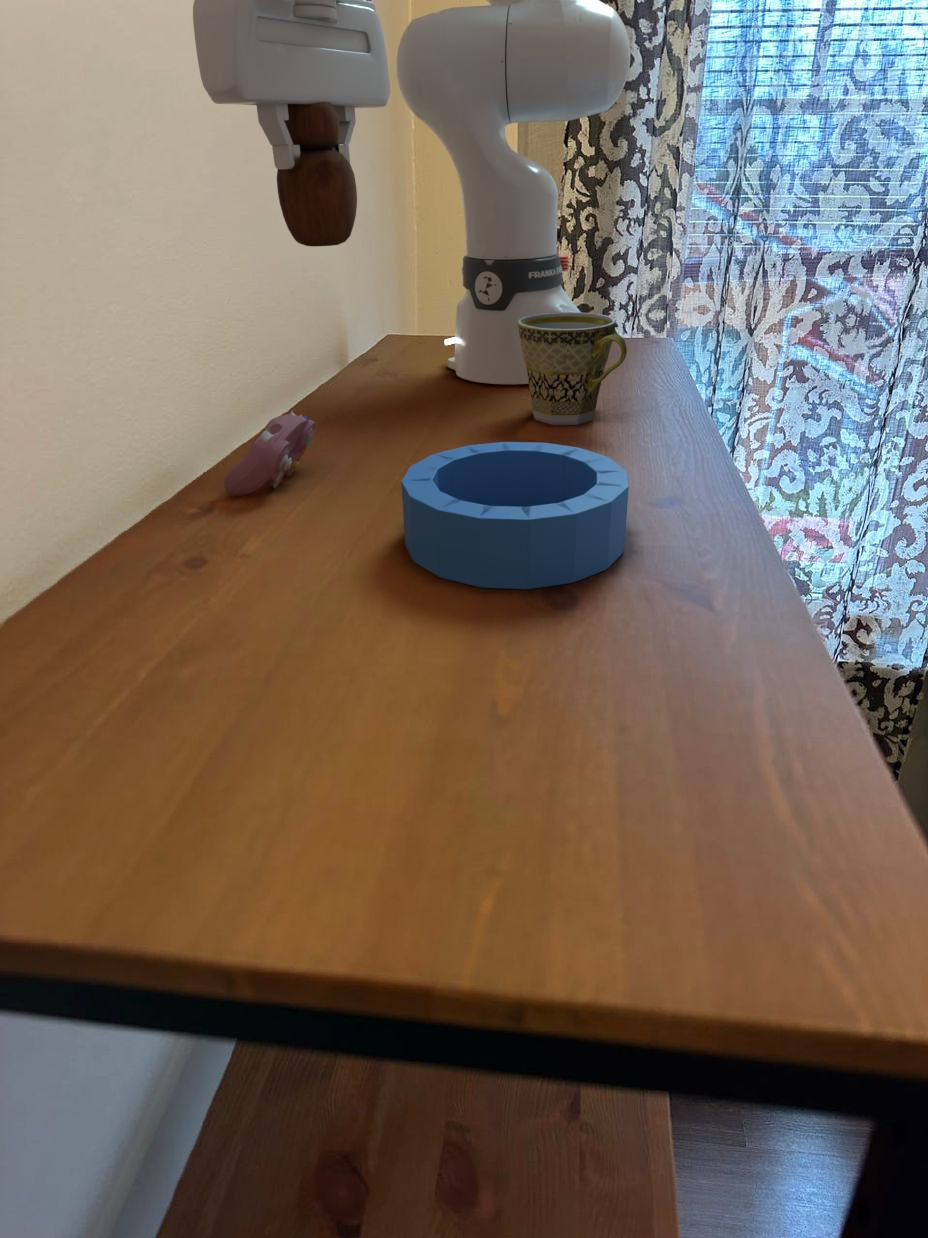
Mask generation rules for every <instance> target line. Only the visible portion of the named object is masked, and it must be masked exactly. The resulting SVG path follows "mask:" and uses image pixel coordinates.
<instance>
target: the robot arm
mask: <svg viewBox="0 0 928 1238" xmlns="http://www.w3.org/2000/svg"><path fill="white" fill-rule="evenodd" d="M486 1H487V2H488V3H489V5H472V6H457V7H456V6H455V7H449V8H445V9H442V10H439V11H435V12H431V13H428V14H425V15H422V16H420V17H417V18H413V19H412V20H411V21H410V22H409V23H408V25H407V26H406V28H405V29H404V32H403V34H402V35H401V38H400V41H399V43H398V47H397V52H396V58H395V68H396V69H395V71H396V72H395V73H396V80H397V84H398V88H399V91H400V94H401V97H402V98H403V100H404V102H405V104H406V105H407V107H408V108H409V110H410V111H411V112H412V114H413V115H414V116H415V117H416V118H418V120H420V121H421V122H422V123H424V124H425V125H426V126H427V127H428V128H429V129H430V130H431V131H432V132H433V133H434V134H435V135H436V137H437V138H438V140H440V142H441V143H442V145H443V147H444V148H445V150H446V151H447V153H448V155H449V157H450V159H451V161H452V163H453V165H454V168H455V171H456V173H457V178H458V181H459V184H460V185H459V186H460V189H461V196H462V206H463V217H464V219H463V220H464V233H465V255H464V256H463V257H462V267H461V275H462V286H463V287H464V289H465V292H464V295H463V297H462V298H461V299H460V300H459V301H458V302H457V305H456V314H455V316H456V317H455V318H456V319H455V333H454V334H455V335H454V337H450V338H446V339H444V346H448V345H452V344H454V354H453V355H454V356H453V357H449V358H447V367H448V369H451V370H453V371H454V372H455V375H456V376H457V377H459V378H461V379H462V380H467V381H470V382H475V383H482V384H492V385H529V381H528V375H527V369H526V365H525V361H524V357H523V353H522V347H521V341H520V335H519V327H518V321H519V320H520V319H521V318H524V317H527V316H531V315H536V314H543V313H557V312H581V311H580V309H579V308H578V307H577V306H576V304H575V303H574V302H573V301H572V299H571V298H570V297H569V295H568V294H567V293H566V291H565V289H563V286H562V284H563V283H564V278H563V272H568V271H569V270H570V268H569V267H570V266H571V265H570V264H571V258H570V255H569V254H568V253H567V254H566V253H565V254H564V253H563V254H558V253H557V246H558V245H557V244H558V243H557V241H558V207H559V191H558V187H557V184H556V181H555V179H554V177H553V176H552V175H551V174H550V172H549V171H548V170H547V169H546V168H544V167H543V166H541V165H540V164H538V163H537V162H535V161H533V160H532V159H530V158H528V157H526V156H525V155H523V154H521V153H518V152H517V151H515V150H514V149H513V148H512V147H511V145H509V143H508V140H507V136H506V127H507V126H508V125H512V124H519V123H522V124H523V123H550V122H551V123H552V122H553V123H554V122H569V121H573V120H578V119H582V118H586V117H590V116H595V115H597V114H600V113H604V112H607V111H609V110H610V108H612V106H613V105H614V104H615V102H616V101H617V100H618V99H619V97H620V95H621V94H622V91H623V90H624V87H625V85H626V83H627V79H628V76H629V72H630V66H631V44H630V39H629V35H628V30H627V28H626V25H625V24H624V22H623V20H622V18H621V16H620V15H619V14H618V12H617V11H616V10H615V9H614V7H612V6H610V5H608V4H606V3H605V2H602V1H601V0H486ZM192 22H193V23H192V24H193V34H194V41H195V50H196V51H195V52H196V56H197V63H198V69H199V74H200V79H201V83H202V86H203V88H204V90H205V91H206V94H208V96H209V98H210V100H211V101H212V102H213V103H214V104H217V105H238V106H239V105H241V106H242V105H245V106H256V111H257V119H258V120H257V121H258V124H259V125H260V128H261V129H262V131H263V133H264V134H265V137H266V138H267V141H268V142H269V144H270V146H271V147H272V155H273V164H274V166H275V168H276V169H277V170H278V169H299V168H300V167H301V164H302V162H301V158H300V154H301V153H300V145H293V142H292V139H291V137H290V134H289V132H288V129H287V127H286V124H285V122H284V121H285V120H289V115H288V105H287V104H315V103H320V102H325V103H329V102H330V104H331V106H332V107H333V108H334V109H335V112H336V114H337V117H338V122H339V140H338V142H337V144H336V146H334V147H332V148H330V149H329V150H335V151H337V152H339V153H341V154H343V155H344V157H345V158H346V159H347V160H348V161H349V162H350V163H351V158H350V157H351V155H350V143H351V140H352V136H353V134H354V129H355V125H356V121H357V119H356V110H355V109H378V108H384V107H386V106H387V104H388V100H389V98H390V93H391V85H390V73H389V66H388V65H389V64H388V58H387V51H386V50H387V49H386V43H385V36H384V30H383V27H382V23H381V21H380V17H379V15H378V14H377V10H376V5H375V3H374V1H372V0H194V1H193V5H192ZM615 328H619V325H618V323H617V322H616V325H615Z"/></svg>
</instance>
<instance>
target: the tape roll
mask: <svg viewBox="0 0 928 1238" xmlns="http://www.w3.org/2000/svg"><path fill="white" fill-rule="evenodd" d="M400 483H401V484H400V485H401V499H402V513H403V514H402V515H403V528H404V543H405V546H406V548H407V551H408V554H409V555H410V557H411V560H412V561H413V563H415V564H416V565H418V566H420V567H421V568H423V569H425V570H427V571H428V572H430V573H432V574H433V575H435V576H437V577H439V578H441V579H444V580H447V581H448V580H449V581H452V582H457V583H461V584H465V585H469V586H473V587H477V588H481V589H482V588H483V589H506V590H507V589H510V590H533V589H541V588H547V587H553V586H561V585H568V584H574V583H576V582H579V581H581V580H584V579H586V578H590V577H592V576H594V575H597V574H599V573H601V572H604V571H607V570H608V569H609V568H610V567H611V566H612V565H613V564H614V563H615V562H616V561H617V560H618V559H619V558H620V557H621V556H622V555H623V554H624V552H625V542H626V531H627V530H626V529H627V516H628V515H627V514H628V502H629V490H630V485H629V484H630V483H629V473H628V471H627V470H626V469H625V468H623V466H621V465H619V464H618V463H617V462H615V461H614V460H613V459H612V458H611V457H609V456H605V455H603V454H600V453H597V452H594V451H591V450H588V449H585V448H581V447H576V446H569V445H563V444H557V443H549V442H538V441H537V442H528V441H499V442H498V441H497V442H487V443H478V444H472V445H471V444H470V445H464V446H461V447H460V446H459V447H456V448H453V449H448V450H444V451H441V452H440V451H439V452H437V453H433V454H431V455H429V456H426V457H425V458H424V459H423V458H422V459H421V460H419V461H418V462H416V463H414V464H412V465H410V466H409V468H408V469H407V471H406V473H405V474H404V475H403V478H402V480H401V482H400Z"/></svg>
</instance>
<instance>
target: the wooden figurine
mask: <svg viewBox="0 0 928 1238" xmlns="http://www.w3.org/2000/svg"><path fill="white" fill-rule="evenodd" d="M287 105H288V115H289V120H285V121H284V122H285V124H286V127H287V129H288V132H289V134H290V137H291V139H292V142H293V145H300V153H301V154H300V158H301V162H302V164H301V167H300V168H299V169H277V171H276V187H277V189H276V190H277V195H278V201H279V206H280V209H281V214H282V217H283V220H284V222H285V225H286V227H287V229H288V231H289V233H290V234H291V236H292V238H293V239H294V240H295V242H296V243H297V244H300V245H302V246H305V247H330V246H331V247H332V246H339V245H341V244H344V243H345V242H347V241H348V239H349V238H350V237H351V235H352V232H353V229H354V224H355V222H356V221H355V220H356V216H357V208H358V191H357V183H356V176H355V173H354V170H353V167H352V165H351V161H350V162H349V161H348V160H347V159H346V158H345V157H344V155H343V154H341V153H339V152H337V151H335V150H329V149H330V148H332V147H334V146H336V144H337V142H338V140H339V122H338V117H337V114H336V112H335V109H334V108H333V107H332V106H331V104H330V102H329V103H325V102H320V103H315V104H287Z"/></svg>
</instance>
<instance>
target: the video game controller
mask: <svg viewBox="0 0 928 1238" xmlns="http://www.w3.org/2000/svg"><path fill="white" fill-rule="evenodd" d="M316 429H317V423H316V422H315V421H313V420H312V419H310V418H309V417H308V416H306V415H302V414H299V415H297V414H295V412H294V411H291V412H290V413H288V414H281V415H278V416H276V417H273V418H271V419H270V420H269V421H268V422H267V424H266V426H265V428H264V430H263V432H262V433H261V434H260V435H259V436H258V437H257V438H256V440H255V441H254V443H253V444H252V445H251V447H250V449H249V451H248V452H246V454H245V455H244V456H243V457H242V458H241V459H240V460H239V461H238V462H237V463H235V465H233V466H231V468H230V469H229V470H228V471H227V472H226V474H225V476H224V479H223V487H224V488H223V489H224V490H225V491H226V494H228V495H229V496H232V497H243V496H247V495H250V494H252V493H254V492H256V491H257V490H258V489H259V488H261V487H262V486H264V484H266V485H267V486H269V487H271V488H273V489H276V488H277V487H278V486H279V485H280V483H281V482H282V480H283V478H284V475H286V476H291V475H292V474H293V473H294V471H297V470H298V469H299V466H300V460H301V458H302V456H303V455H304V453H305V451H306V450H307V449H308V448H309V446H310V444H311V441H312V440H313V438H314V435H315V432H316Z"/></svg>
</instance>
